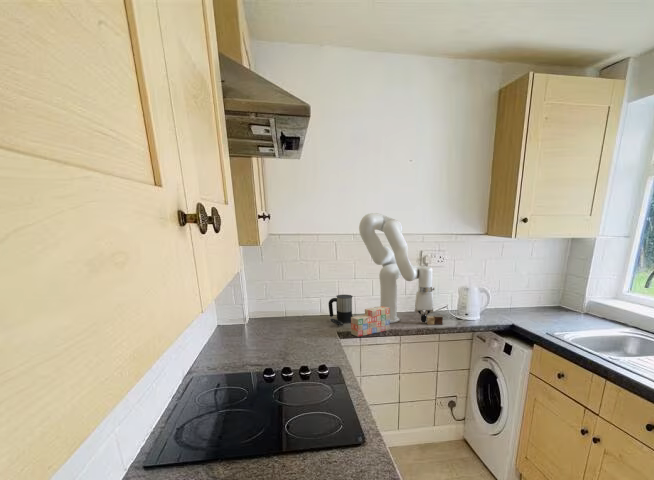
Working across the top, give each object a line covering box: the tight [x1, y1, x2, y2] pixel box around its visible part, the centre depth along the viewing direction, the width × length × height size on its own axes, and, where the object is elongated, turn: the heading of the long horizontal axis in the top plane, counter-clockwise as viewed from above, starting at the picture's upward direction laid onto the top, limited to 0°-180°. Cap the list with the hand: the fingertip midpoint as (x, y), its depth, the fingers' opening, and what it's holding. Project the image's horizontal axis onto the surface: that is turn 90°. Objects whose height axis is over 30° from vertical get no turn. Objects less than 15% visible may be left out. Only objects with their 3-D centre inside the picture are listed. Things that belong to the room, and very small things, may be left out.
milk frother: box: [328, 294, 353, 326], centre depth 232 cm, size 14×16×15 cm
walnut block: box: [433, 314, 444, 326], centre depth 234 cm, size 4×4×4 cm
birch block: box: [426, 315, 435, 326], centre depth 234 cm, size 4×4×4 cm
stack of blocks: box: [350, 305, 391, 337], centre depth 215 cm, size 21×6×12 cm, turn 130°
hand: (423, 321), depth 234 cm, fingers closed
